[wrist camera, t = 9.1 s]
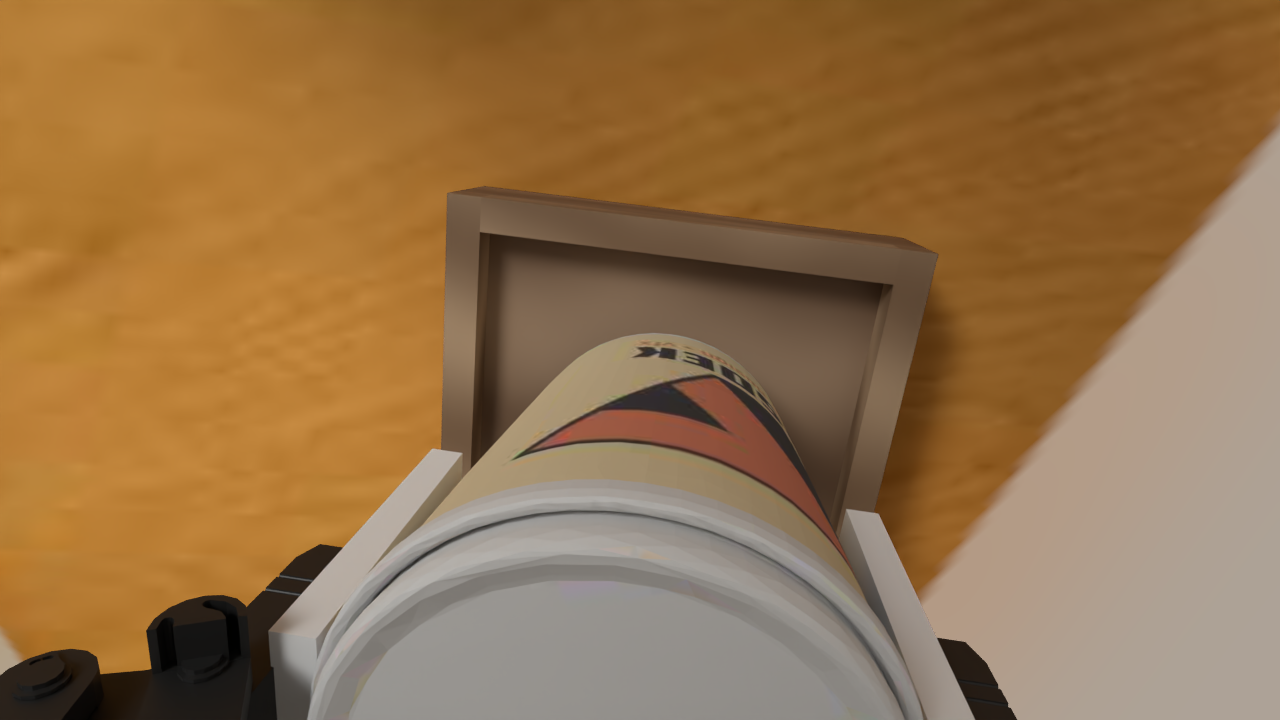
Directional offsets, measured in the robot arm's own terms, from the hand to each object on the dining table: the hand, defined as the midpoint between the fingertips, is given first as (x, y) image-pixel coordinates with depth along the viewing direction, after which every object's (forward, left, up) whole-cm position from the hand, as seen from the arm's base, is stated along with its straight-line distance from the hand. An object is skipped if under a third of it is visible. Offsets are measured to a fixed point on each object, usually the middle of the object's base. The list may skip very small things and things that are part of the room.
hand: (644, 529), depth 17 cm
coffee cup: (0, 0, -5) cm, 5 cm away
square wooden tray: (0, 0, -8) cm, 8 cm away
